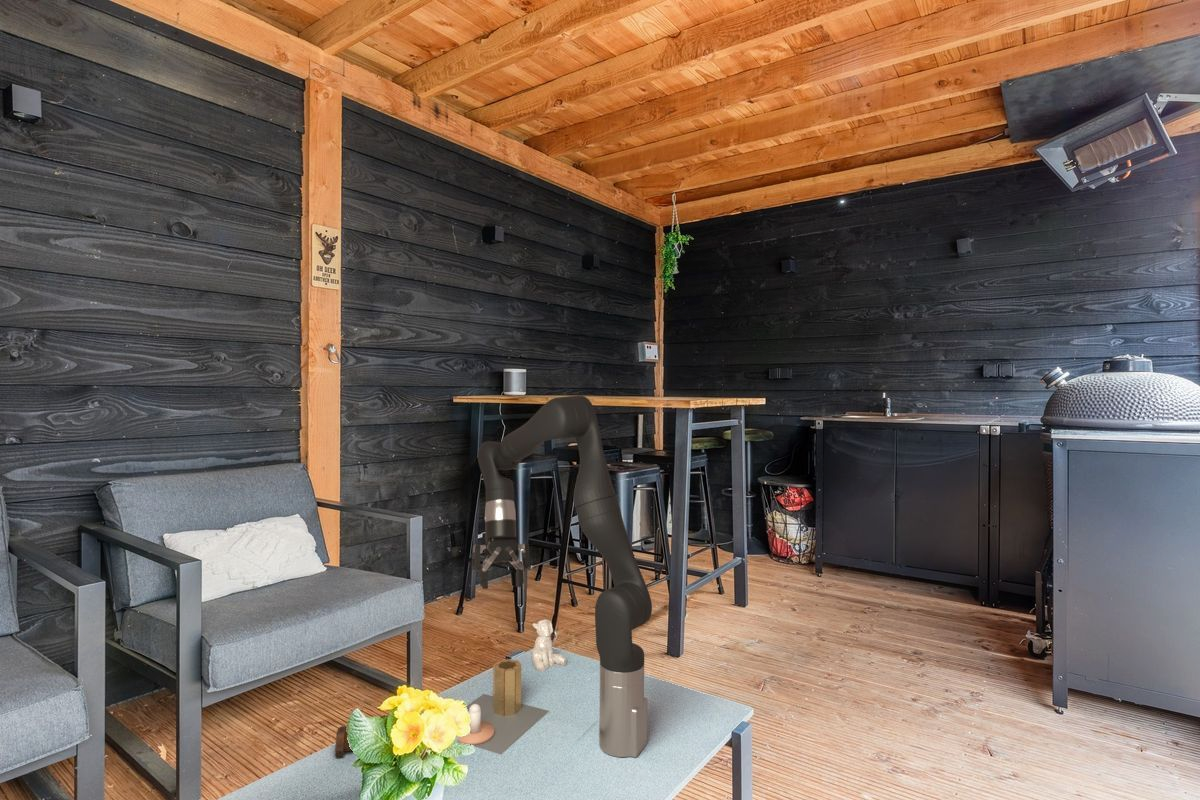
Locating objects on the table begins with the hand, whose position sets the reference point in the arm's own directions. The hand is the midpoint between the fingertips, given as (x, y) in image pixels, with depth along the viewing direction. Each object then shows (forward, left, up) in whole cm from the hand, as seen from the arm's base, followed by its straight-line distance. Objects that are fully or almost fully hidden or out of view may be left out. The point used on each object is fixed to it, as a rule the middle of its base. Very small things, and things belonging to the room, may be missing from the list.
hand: (502, 587), depth 155 cm
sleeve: (-7, +8, -24) cm, 27 cm away
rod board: (-7, +14, -26) cm, 30 cm away
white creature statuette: (-1, -18, -26) cm, 32 cm away
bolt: (+9, +31, -26) cm, 42 cm away
